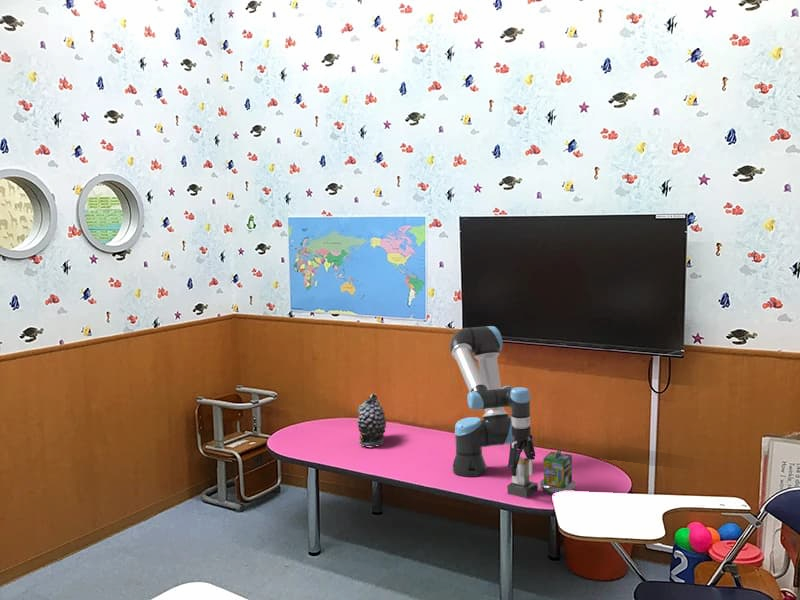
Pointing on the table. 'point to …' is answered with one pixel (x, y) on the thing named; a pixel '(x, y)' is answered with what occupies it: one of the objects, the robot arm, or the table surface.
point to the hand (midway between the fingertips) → (522, 478)
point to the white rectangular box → (523, 472)
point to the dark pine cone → (371, 422)
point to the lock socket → (523, 489)
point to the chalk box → (558, 469)
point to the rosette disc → (553, 489)
